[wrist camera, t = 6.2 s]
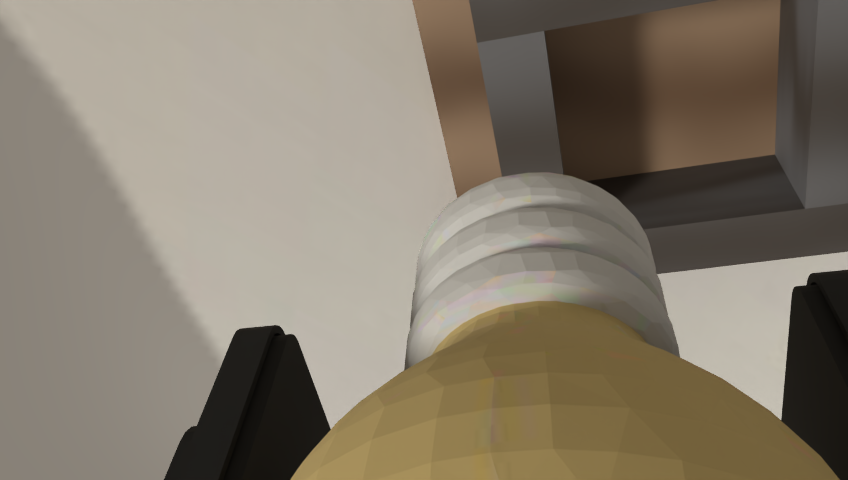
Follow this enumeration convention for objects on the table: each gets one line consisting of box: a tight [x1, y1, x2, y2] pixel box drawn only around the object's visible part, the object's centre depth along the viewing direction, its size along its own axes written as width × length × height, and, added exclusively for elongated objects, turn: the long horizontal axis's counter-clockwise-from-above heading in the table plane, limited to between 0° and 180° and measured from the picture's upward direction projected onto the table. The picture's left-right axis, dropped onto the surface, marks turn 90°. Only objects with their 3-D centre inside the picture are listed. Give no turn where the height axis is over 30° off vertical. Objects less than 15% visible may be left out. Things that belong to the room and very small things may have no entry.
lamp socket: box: [413, 0, 848, 274], centre depth 27 cm, size 16×16×5 cm
